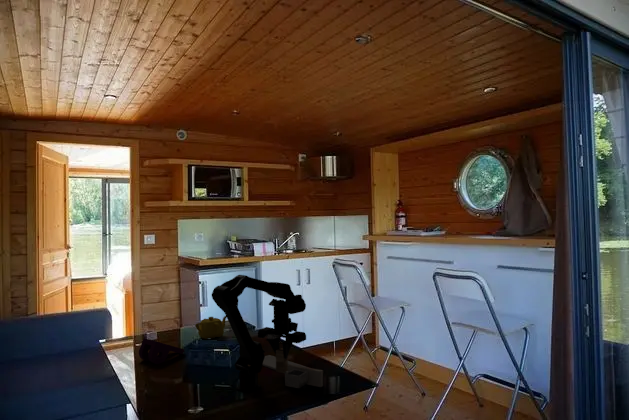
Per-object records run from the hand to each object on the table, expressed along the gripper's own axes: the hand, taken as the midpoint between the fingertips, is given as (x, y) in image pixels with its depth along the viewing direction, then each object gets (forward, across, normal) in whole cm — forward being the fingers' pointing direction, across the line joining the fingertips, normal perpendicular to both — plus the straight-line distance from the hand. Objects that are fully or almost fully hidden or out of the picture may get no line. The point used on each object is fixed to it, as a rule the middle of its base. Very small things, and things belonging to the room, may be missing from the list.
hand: (281, 357), depth 170 cm
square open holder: (+6, -11, +6) cm, 14 cm away
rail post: (+5, 0, 0) cm, 5 cm away
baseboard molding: (+8, +4, -10) cm, 14 cm away
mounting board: (+7, -11, +1) cm, 13 cm away
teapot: (+8, +63, -30) cm, 70 cm away
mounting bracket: (+8, +58, +5) cm, 59 cm away
